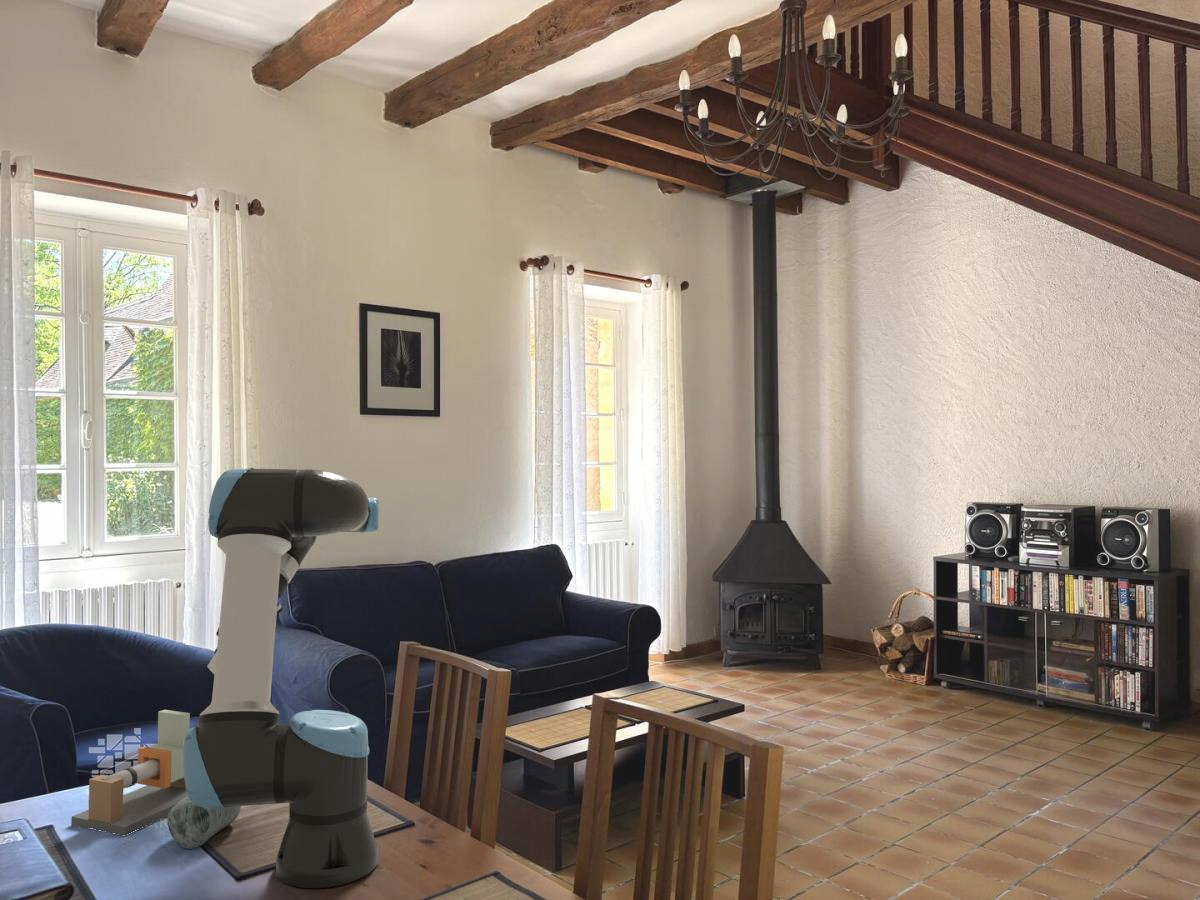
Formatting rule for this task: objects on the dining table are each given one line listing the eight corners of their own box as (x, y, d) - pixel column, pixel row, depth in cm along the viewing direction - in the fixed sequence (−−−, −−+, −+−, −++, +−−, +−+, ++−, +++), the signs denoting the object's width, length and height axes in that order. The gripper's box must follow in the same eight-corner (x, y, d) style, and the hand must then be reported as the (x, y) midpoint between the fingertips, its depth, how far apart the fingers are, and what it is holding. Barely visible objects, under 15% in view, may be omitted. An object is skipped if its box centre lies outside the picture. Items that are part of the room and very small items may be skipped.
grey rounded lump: (209, 838, 141) (195, 776, 145) (159, 861, 142) (146, 799, 146) (261, 826, 154) (247, 769, 157) (215, 848, 155) (202, 791, 159)
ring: (170, 786, 162) (171, 750, 162) (165, 788, 161) (165, 752, 161) (142, 781, 164) (143, 746, 164) (137, 783, 163) (138, 748, 163)
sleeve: (188, 775, 166) (189, 713, 166) (171, 783, 162) (172, 718, 162) (163, 771, 168) (164, 709, 168) (146, 778, 164) (147, 715, 164)
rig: (213, 794, 168) (214, 748, 168) (124, 836, 149) (126, 784, 149) (163, 786, 172) (164, 741, 172) (71, 825, 153) (72, 775, 153)
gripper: (305, 588, 192) (249, 684, 176) (256, 584, 196) (197, 678, 181) (289, 566, 187) (230, 663, 171) (239, 563, 192) (177, 657, 176)
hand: (213, 670), depth 176 cm, fingers closed
